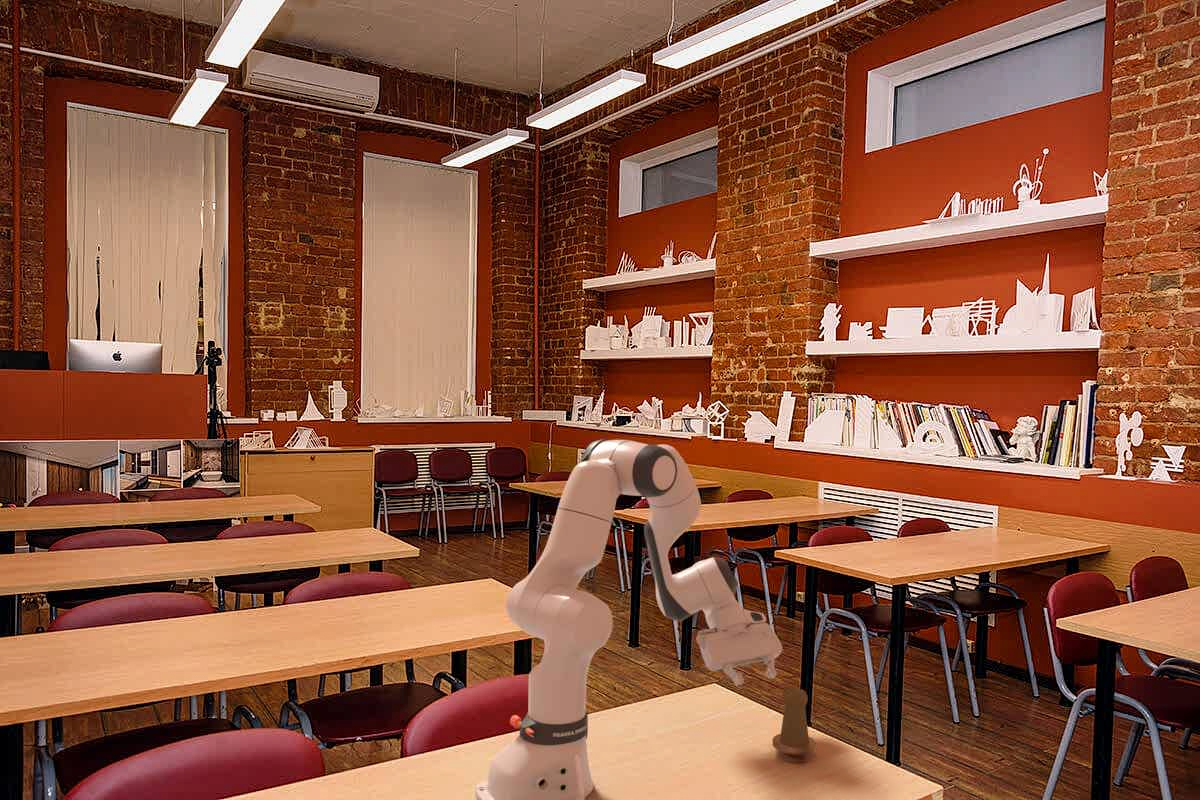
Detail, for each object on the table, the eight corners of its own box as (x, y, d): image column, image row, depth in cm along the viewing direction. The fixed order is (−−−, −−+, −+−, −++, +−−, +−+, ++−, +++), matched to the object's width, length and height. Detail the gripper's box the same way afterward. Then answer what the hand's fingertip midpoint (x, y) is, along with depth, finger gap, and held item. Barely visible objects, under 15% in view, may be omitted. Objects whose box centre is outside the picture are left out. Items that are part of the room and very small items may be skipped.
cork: (809, 749, 178) (810, 695, 177) (779, 746, 179) (780, 693, 179) (809, 737, 183) (809, 686, 183) (780, 734, 185) (780, 683, 185)
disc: (793, 769, 175) (793, 754, 175) (763, 752, 183) (763, 738, 183) (825, 759, 180) (825, 745, 180) (795, 744, 188) (795, 729, 187)
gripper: (699, 624, 193) (726, 681, 184) (769, 612, 203) (798, 666, 195) (687, 639, 197) (713, 695, 188) (756, 627, 207) (784, 679, 199)
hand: (756, 680), depth 192 cm, fingers open, 8 cm apart
